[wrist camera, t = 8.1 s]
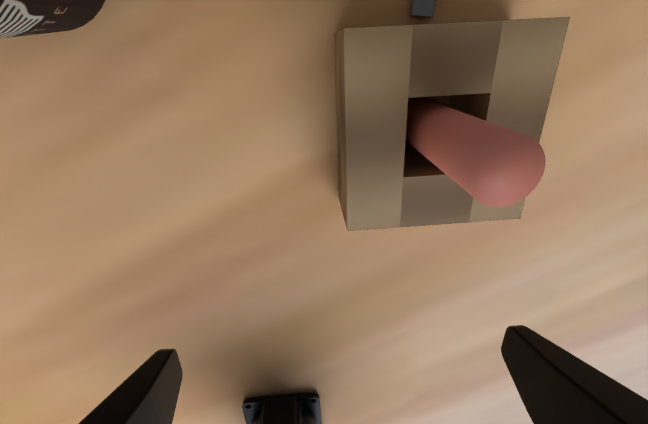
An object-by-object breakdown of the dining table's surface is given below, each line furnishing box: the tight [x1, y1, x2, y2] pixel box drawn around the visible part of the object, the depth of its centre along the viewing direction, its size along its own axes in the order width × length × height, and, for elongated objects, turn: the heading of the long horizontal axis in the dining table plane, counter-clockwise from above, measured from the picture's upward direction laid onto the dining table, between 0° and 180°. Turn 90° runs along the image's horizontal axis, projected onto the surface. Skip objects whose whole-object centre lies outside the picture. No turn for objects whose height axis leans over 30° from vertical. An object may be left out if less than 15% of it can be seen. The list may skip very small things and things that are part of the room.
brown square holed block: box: [334, 17, 570, 231], centre depth 16 cm, size 9×9×4 cm
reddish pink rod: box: [406, 98, 545, 208], centre depth 14 cm, size 2×2×9 cm
